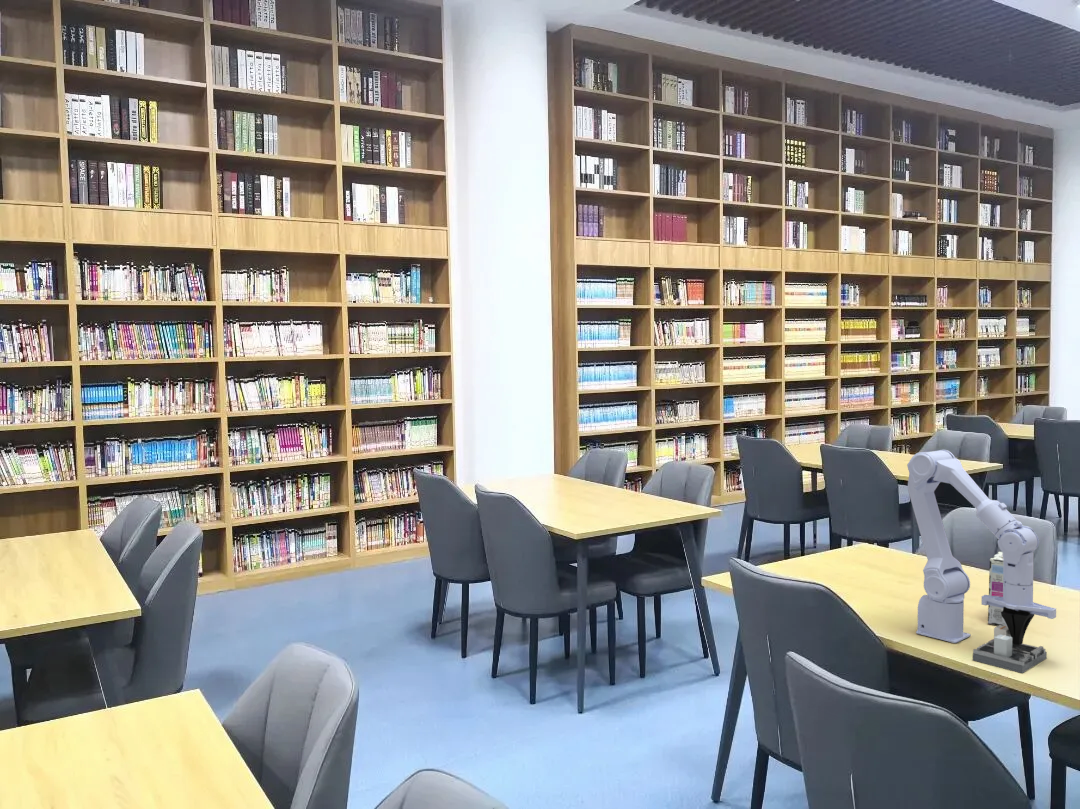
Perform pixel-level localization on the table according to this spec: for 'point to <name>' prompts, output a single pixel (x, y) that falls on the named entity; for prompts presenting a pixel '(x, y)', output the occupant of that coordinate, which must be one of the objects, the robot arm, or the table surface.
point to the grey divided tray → (1019, 660)
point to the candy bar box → (996, 589)
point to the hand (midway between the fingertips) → (1017, 643)
